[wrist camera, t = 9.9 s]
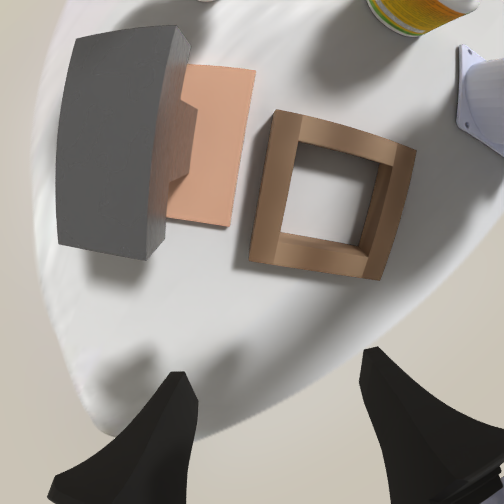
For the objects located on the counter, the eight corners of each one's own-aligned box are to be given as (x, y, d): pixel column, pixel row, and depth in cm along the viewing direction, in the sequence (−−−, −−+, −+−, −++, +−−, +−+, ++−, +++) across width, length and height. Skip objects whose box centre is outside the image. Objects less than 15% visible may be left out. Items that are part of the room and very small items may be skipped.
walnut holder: (401, 148, 16) (416, 150, 14) (369, 268, 19) (379, 280, 17) (273, 113, 15) (275, 109, 13) (249, 248, 19) (248, 260, 17)
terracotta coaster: (256, 72, 14) (256, 70, 14) (230, 224, 18) (229, 226, 17) (111, 68, 14) (107, 67, 13) (96, 205, 17) (92, 207, 17)
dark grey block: (188, 212, 17) (146, 260, 10) (125, 204, 17) (58, 244, 10) (209, 72, 14) (176, 25, 7) (140, 71, 13) (76, 38, 6)
